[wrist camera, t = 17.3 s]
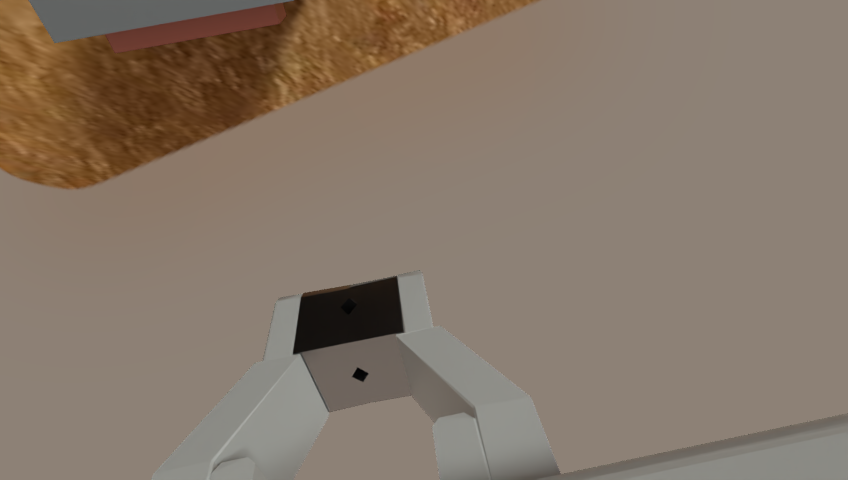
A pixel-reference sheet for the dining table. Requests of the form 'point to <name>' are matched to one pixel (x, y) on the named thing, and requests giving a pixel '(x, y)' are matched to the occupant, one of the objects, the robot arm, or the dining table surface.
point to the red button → (196, 28)
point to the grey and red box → (126, 14)
